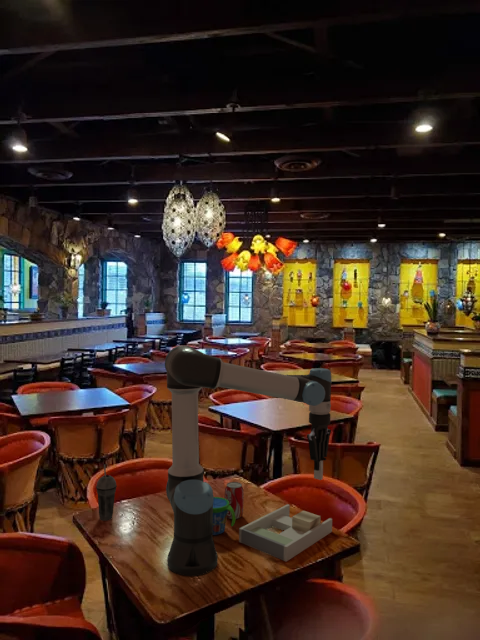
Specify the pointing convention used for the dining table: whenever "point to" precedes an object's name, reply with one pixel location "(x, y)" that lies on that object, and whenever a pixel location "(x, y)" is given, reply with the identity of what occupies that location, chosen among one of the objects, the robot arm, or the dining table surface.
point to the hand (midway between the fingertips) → (318, 478)
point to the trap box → (281, 534)
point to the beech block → (305, 521)
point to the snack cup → (221, 515)
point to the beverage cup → (106, 496)
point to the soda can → (234, 498)
